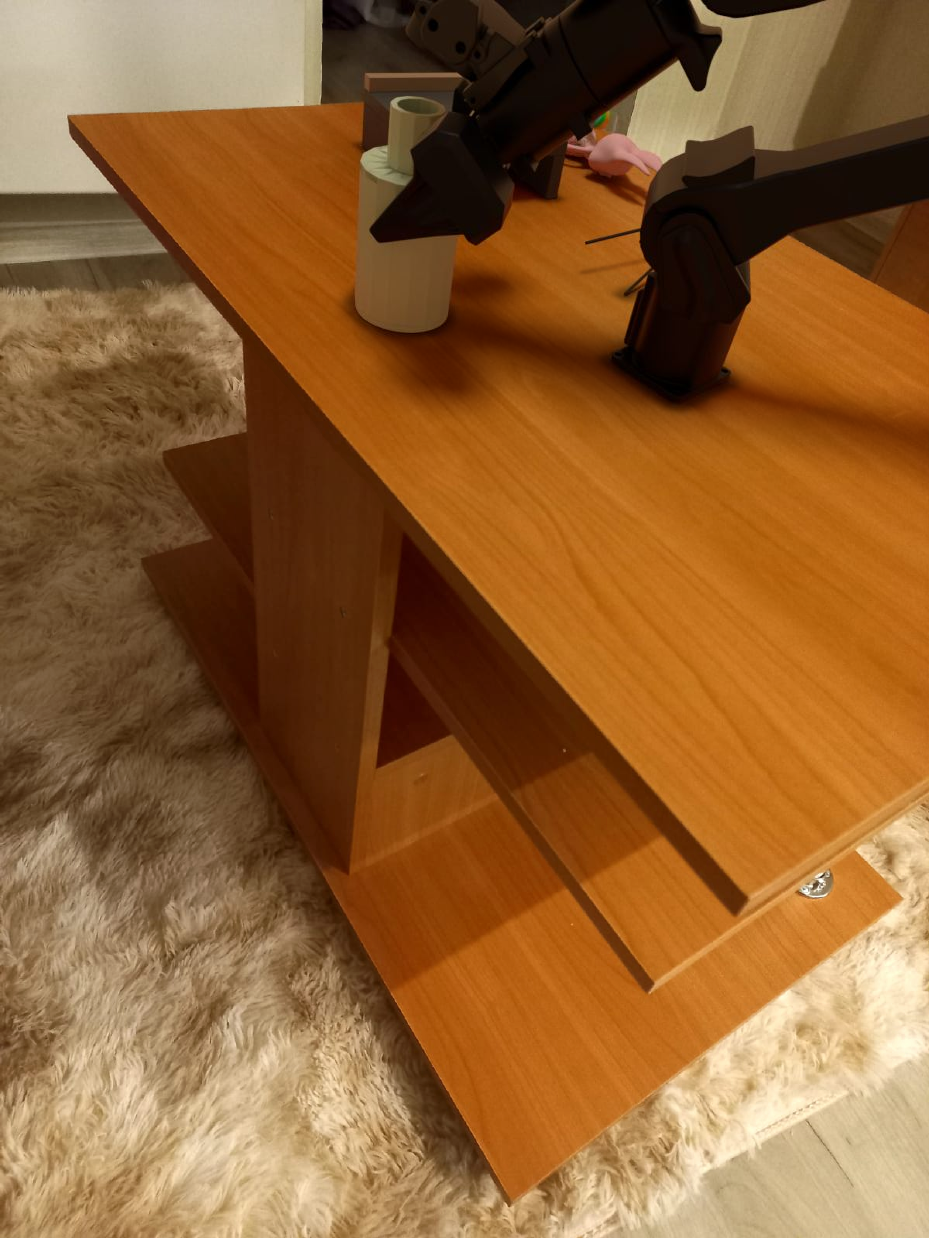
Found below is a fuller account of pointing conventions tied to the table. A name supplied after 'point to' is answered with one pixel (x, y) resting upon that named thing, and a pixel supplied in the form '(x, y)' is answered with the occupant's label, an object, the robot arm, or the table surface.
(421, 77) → the shelf
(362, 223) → the bottle
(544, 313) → the table surface
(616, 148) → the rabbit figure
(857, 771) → the table surface
